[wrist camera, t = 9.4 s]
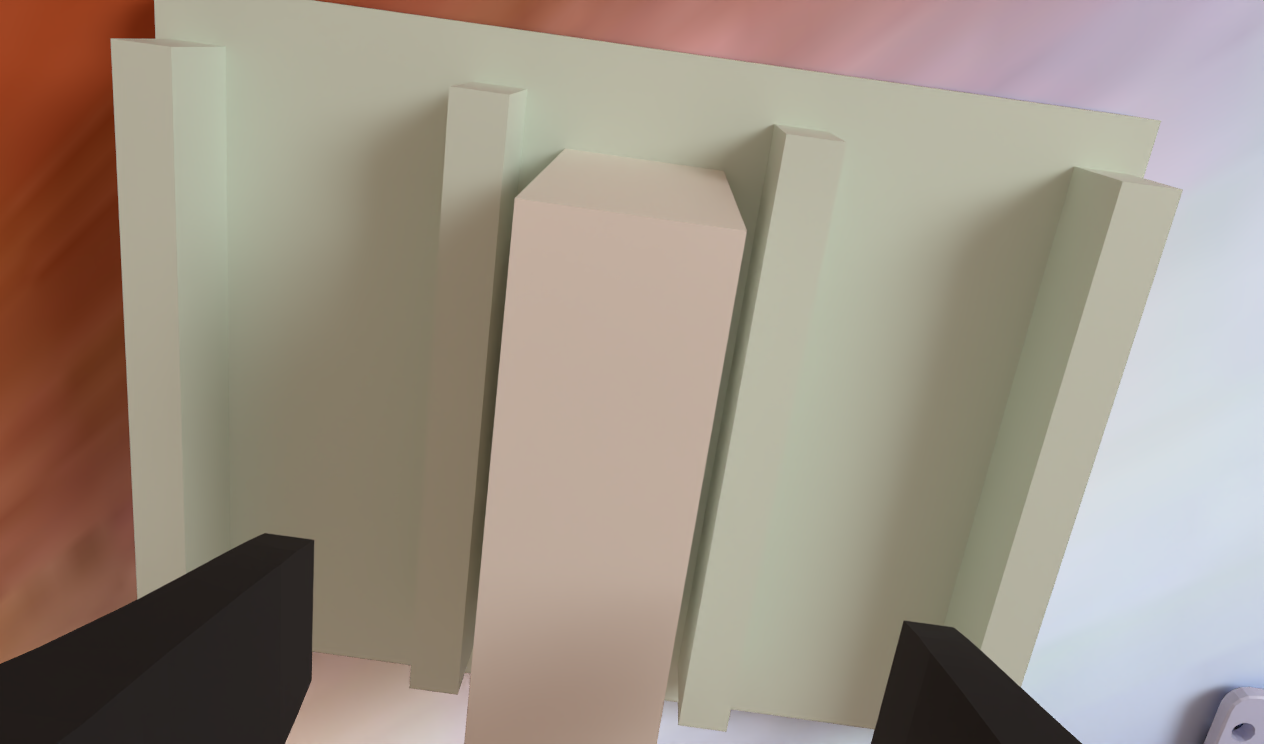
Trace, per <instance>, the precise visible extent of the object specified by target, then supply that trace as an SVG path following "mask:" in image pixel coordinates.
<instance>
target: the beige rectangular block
mask: <svg viewBox="0 0 1264 744" xmlns="http://www.w3.org/2000/svg"><path fill="white" fill-rule="evenodd" d="M746 234H747V230H746V227H745V225H744V222H743V219H742V217H741V214H740V212H739V209H738V207H737V204H736V202H735V199H734V196H733V194H732V191H731V189H730V186H729V184H728V181H727V178H726V176H725V173H724V171H721V170H714V169H707V168H700V167H693V166H686V165H679V164H672V163H665V162H658V161H651V160H643V159H636V158H629V157H622V156H615V155H608V154H601V153H594V152H587V151H580V150H573V149H566V148H565V149H564V150H563V151H562V152H561V153H560V154H559V155H558V156H557V157H556V158H555V159H554V160H553V161H552V162H551V163H550V164H549V165H548V166H547V167H546V168H545V169H544V170H543V171H542V172H541V173H540V174H539V175H538V176H537V177H536V178H535V179H534V180H533V181H532V182H531V183H530V184H529V185H528V186H527V187H526V188H525V189H524V190H523V191H522V192H521V193H519V194H518V195H517V196H516V197H515V201H514V212H513V223H512V234H511V244H510V255H509V266H508V277H507V288H506V298H505V309H504V320H503V331H502V342H501V352H500V363H499V374H498V385H497V396H496V406H495V417H494V428H493V439H492V450H491V461H490V471H489V482H488V493H487V504H486V515H485V525H484V536H483V547H482V558H481V569H480V579H479V590H478V601H477V612H476V623H475V633H474V644H473V655H472V666H471V677H470V688H469V698H468V709H467V720H466V731H465V742H464V744H657V739H658V733H659V727H660V722H661V716H662V710H663V705H664V699H665V693H666V688H667V682H668V676H669V671H670V665H671V659H672V654H673V648H674V642H675V637H676V631H677V625H678V620H679V614H680V608H681V603H682V597H683V591H684V586H685V580H686V574H687V569H688V563H689V557H690V551H691V546H692V540H693V534H694V529H695V523H696V517H697V512H698V506H699V500H700V495H701V489H702V483H703V478H704V472H705V466H706V461H707V455H708V449H709V444H710V438H711V432H712V427H713V421H714V415H715V410H716V404H717V398H718V393H719V387H720V381H721V376H722V370H723V364H724V359H725V353H726V347H727V342H728V336H729V330H730V325H731V319H732V313H733V307H734V302H735V296H736V290H737V285H738V279H739V273H740V268H741V262H742V256H743V251H744V245H745V239H746Z"/></svg>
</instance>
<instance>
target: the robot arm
mask: <svg viewBox="0 0 1264 744" xmlns="http://www.w3.org/2000/svg"><path fill="white" fill-rule="evenodd" d="M313 582H314V540H312V539H305V538H297V537H290V536H283V535H275V534H268V533H264V534H261V535H259V536H257V537H255V538H253V539H250V540H248V541H246V542H244V543H242V544H240V545H239V546H237V547H235V548H233V549H231V550H229V551H227V552H225V553H223V554H221V555H220V556H218V557H216V558H214V559H212V560H210V561H209V562H207V563H205V564H203V565H201V566H199V567H197V568H196V569H194V570H192V571H190V572H188V573H186V574H185V575H183V576H181V577H179V578H177V579H175V580H173V581H171V582H169V583H168V584H166V585H164V586H162V587H160V588H158V589H156V590H154V591H152V592H151V593H149V594H147V595H145V596H143V597H141V598H139V599H137V600H135V601H134V602H132V603H130V604H128V605H126V606H124V607H122V608H120V609H118V610H116V611H114V612H112V613H109V614H107V615H105V616H103V617H101V618H99V619H97V620H95V621H93V622H91V623H89V624H87V625H84V626H82V627H80V628H78V629H76V630H74V631H72V632H70V633H68V634H66V635H64V636H62V637H59V638H57V639H55V640H53V641H51V642H49V643H47V644H45V645H43V646H41V647H39V648H36V649H34V650H32V651H29V652H27V653H25V654H23V655H20V656H18V657H16V658H13V659H11V660H9V661H6V662H4V663H1V664H0V744H285V742H286V740H287V737H288V735H289V733H290V731H291V728H292V726H293V724H294V721H295V719H296V717H297V714H298V712H299V709H300V707H301V705H302V702H303V700H304V697H305V695H306V692H307V690H308V688H309V685H310V683H311V678H312V630H313ZM1241 723H1244V724H1243V725H1242V727H1240V728H1238V729H1236V730H1233V729H1234V727H1235V726H1237V725H1239V724H1241ZM871 744H1082V743H1081V742H1080V741H1079V740H1077V739H1076V738H1075V737H1074V736H1073V735H1072V734H1071V733H1070V732H1068V731H1067V730H1066V729H1065V728H1064V727H1063V726H1062V725H1061V724H1060V723H1059V722H1057V721H1056V720H1055V719H1054V718H1053V717H1052V716H1051V715H1050V714H1049V713H1048V712H1047V711H1045V710H1044V709H1043V708H1042V707H1041V706H1040V705H1039V704H1038V703H1037V702H1036V701H1035V700H1034V699H1033V698H1031V697H1030V696H1029V695H1028V694H1027V693H1026V692H1025V691H1024V690H1023V689H1022V688H1021V687H1020V686H1019V685H1018V684H1016V683H1015V682H1014V681H1013V680H1012V679H1011V678H1010V677H1009V676H1008V675H1007V674H1006V673H1005V672H1004V671H1003V670H1002V669H1000V668H999V667H998V666H997V665H996V664H995V663H994V662H993V661H992V660H991V659H990V658H989V657H988V656H986V655H985V654H984V653H983V652H982V651H981V650H980V649H979V648H978V647H977V646H975V645H974V644H973V643H972V642H971V641H970V640H969V639H967V638H966V637H965V636H964V635H963V634H961V633H960V632H959V631H958V630H957V629H955V628H954V627H948V626H941V625H934V624H926V623H919V622H912V621H903V625H902V629H901V632H900V636H899V640H898V644H897V647H896V651H895V655H894V659H893V663H892V666H891V670H890V674H889V678H888V682H887V685H886V689H885V693H884V697H883V700H882V704H881V708H880V712H879V716H878V719H877V723H876V727H875V731H874V734H873V738H872V742H871ZM1204 744H1264V689H1260V688H1253V687H1240V688H1237V689H1234V690H1232V691H1230V692H1229V693H1228V694H1226V695H1225V697H1224V698H1223V700H1222V701H1221V703H1220V705H1219V708H1218V710H1217V713H1216V715H1215V718H1214V720H1213V722H1212V725H1211V727H1210V730H1209V732H1208V734H1207V737H1206V739H1205V742H1204Z"/></svg>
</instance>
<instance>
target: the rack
mask: <svg viewBox="0 0 1264 744" xmlns="http://www.w3.org/2000/svg"><path fill="white" fill-rule="evenodd" d="M154 9H155V39H121V38H111V58H112V78H113V99H114V120H115V141H116V162H117V183H118V204H119V225H120V246H121V267H122V288H123V309H124V330H125V350H126V371H127V392H128V413H129V434H130V455H131V476H132V497H133V518H134V539H135V560H136V581H137V599H139V598H141V597H143V596H145V595H147V594H149V593H151V592H152V591H154V590H156V589H158V588H160V587H162V586H164V585H166V584H168V583H169V582H171V581H173V580H175V579H177V578H179V577H181V576H183V575H185V574H186V573H188V572H190V571H192V570H194V569H196V568H197V567H199V566H201V565H203V564H205V563H207V562H209V561H210V560H212V559H214V558H216V557H218V556H220V555H221V554H223V553H225V552H227V551H229V550H231V549H233V548H235V547H237V546H239V545H240V544H242V543H244V542H246V541H248V540H250V539H253V538H255V537H257V536H259V535H261V534H264V533H268V534H275V535H283V536H290V537H297V538H305V539H312V540H314V582H313V630H312V652H319V653H326V654H333V655H341V656H348V657H355V658H362V659H370V660H377V661H384V662H391V663H399V664H406V665H411V673H410V688H413V689H420V690H427V691H435V692H442V693H449V694H456V695H458V692H459V689H460V686H461V683H462V680H463V677H464V674H465V673H471V666H472V655H473V644H474V633H475V623H476V612H477V601H478V590H479V579H480V569H481V558H482V547H483V536H484V525H485V515H486V504H487V493H488V482H489V471H490V461H491V450H492V439H493V428H494V417H495V406H496V396H497V385H498V374H499V363H500V352H501V342H502V331H503V320H504V309H505V298H506V288H507V277H508V266H509V255H510V244H511V234H512V223H513V212H514V201H515V197H516V196H517V195H518V194H519V193H521V192H522V191H523V190H524V189H525V188H526V187H527V186H528V185H529V184H530V183H531V182H532V181H533V180H534V179H535V178H536V177H537V176H538V175H539V174H540V173H541V172H542V171H543V170H544V169H545V168H546V167H547V166H548V165H549V164H550V163H551V162H552V161H553V160H554V159H555V158H556V157H557V156H558V155H559V154H560V153H561V152H562V151H563V150H564V149H565V148H566V149H573V150H580V151H587V152H594V153H601V154H608V155H615V156H622V157H629V158H636V159H643V160H651V161H658V162H665V163H672V164H679V165H686V166H693V167H700V168H707V169H714V170H721V171H724V173H725V176H726V178H727V181H728V184H729V186H730V189H731V191H732V194H733V196H734V199H735V202H736V204H737V207H738V209H739V212H740V214H741V217H742V219H743V222H744V225H745V227H746V230H747V234H746V239H745V245H744V251H743V256H742V262H741V268H740V273H739V279H738V285H737V290H736V296H735V302H734V307H733V313H732V319H731V325H730V330H729V336H728V342H727V347H726V353H725V359H724V364H723V370H722V376H721V381H720V387H719V393H718V398H717V404H716V410H715V415H714V421H713V427H712V432H711V438H710V444H709V449H708V455H707V461H706V466H705V472H704V478H703V483H702V489H701V495H700V500H699V506H698V512H697V517H696V523H695V529H694V534H693V540H692V546H691V551H690V557H689V563H688V569H687V574H686V580H685V586H684V591H683V597H682V603H681V608H680V614H679V620H678V625H677V631H676V637H675V642H674V648H673V654H672V659H671V665H670V671H669V676H668V682H667V688H666V693H665V699H664V700H667V701H674V702H678V725H681V726H688V727H696V728H703V729H710V730H717V731H725V732H726V731H727V726H728V721H729V716H730V711H731V709H732V710H739V711H746V712H754V713H761V714H768V715H775V716H783V717H790V718H797V719H804V720H811V721H819V722H826V723H833V724H840V725H848V726H855V727H862V728H869V729H875V727H876V723H877V719H878V716H879V712H880V708H881V704H882V700H883V697H884V693H885V689H886V685H887V682H888V678H889V674H890V670H891V666H892V663H893V659H894V655H895V651H896V647H897V644H898V640H899V636H900V632H901V629H902V625H903V621H912V622H919V623H926V624H934V625H941V626H948V627H954V628H955V629H957V630H958V631H959V632H960V633H961V634H963V635H964V636H965V637H966V638H967V639H969V640H970V641H971V642H972V643H973V644H974V645H975V646H977V647H978V648H979V649H980V650H981V651H982V652H983V653H984V654H985V655H986V656H988V657H989V658H990V659H991V660H992V661H993V662H994V663H995V664H996V665H997V666H998V667H999V668H1000V669H1002V670H1003V671H1004V672H1005V673H1006V674H1007V675H1008V676H1009V677H1010V678H1011V679H1012V680H1013V681H1014V682H1015V683H1016V684H1018V685H1019V686H1020V687H1021V685H1022V682H1023V679H1024V676H1025V673H1026V670H1027V667H1028V663H1029V660H1030V657H1031V654H1032V651H1033V648H1034V645H1035V642H1036V639H1037V636H1038V633H1039V630H1040V627H1041V624H1042V620H1043V617H1044V614H1045V611H1046V608H1047V605H1048V602H1049V599H1050V596H1051V593H1052V590H1053V587H1054V584H1055V581H1056V577H1057V574H1058V571H1059V568H1060V565H1061V562H1062V559H1063V556H1064V553H1065V550H1066V547H1067V544H1068V541H1069V538H1070V534H1071V531H1072V528H1073V525H1074V522H1075V519H1076V516H1077V513H1078V510H1079V507H1080V504H1081V501H1082V498H1083V495H1084V491H1085V488H1086V485H1087V482H1088V479H1089V476H1090V473H1091V470H1092V467H1093V464H1094V461H1095V458H1096V455H1097V452H1098V448H1099V445H1100V442H1101V439H1102V436H1103V433H1104V430H1105V427H1106V424H1107V421H1108V418H1109V415H1110V412H1111V409H1112V406H1113V402H1114V399H1115V396H1116V393H1117V390H1118V387H1119V384H1120V381H1121V378H1122V375H1123V372H1124V369H1125V366H1126V363H1127V359H1128V356H1129V353H1130V350H1131V347H1132V344H1133V341H1134V338H1135V335H1136V332H1137V329H1138V326H1139V323H1140V320H1141V316H1142V313H1143V310H1144V307H1145V304H1146V301H1147V298H1148V295H1149V292H1150V289H1151V286H1152V283H1153V280H1154V277H1155V273H1156V270H1157V267H1158V264H1159V261H1160V258H1161V255H1162V252H1163V249H1164V246H1165V243H1166V240H1167V237H1168V234H1169V230H1170V227H1171V224H1172V221H1173V218H1174V215H1175V212H1176V209H1177V206H1178V203H1179V200H1180V197H1181V194H1182V191H1183V190H1182V189H1178V188H1175V187H1171V186H1168V185H1165V184H1161V183H1158V182H1154V181H1151V180H1147V179H1144V178H1143V177H1144V174H1145V171H1146V168H1147V164H1148V161H1149V158H1150V155H1151V151H1152V148H1153V145H1154V142H1155V139H1156V135H1157V132H1158V129H1159V126H1160V122H1161V121H1159V120H1153V119H1147V118H1141V117H1134V116H1127V115H1120V114H1113V113H1106V112H1099V111H1092V110H1085V109H1078V108H1071V107H1063V106H1056V105H1049V104H1042V103H1035V102H1028V101H1021V100H1014V99H1007V98H1000V97H993V96H986V95H979V94H972V93H965V92H957V91H950V90H943V89H936V88H929V87H922V86H915V85H908V84H901V83H894V82H887V81H880V80H873V79H866V78H859V77H851V76H844V75H837V74H830V73H823V72H816V71H809V70H802V69H795V68H788V67H781V66H774V65H767V64H760V63H753V62H745V61H738V60H731V59H724V58H717V57H710V56H703V55H696V54H689V53H682V52H675V51H668V50H661V49H654V48H647V47H639V46H632V45H625V44H618V43H611V42H604V41H597V40H590V39H583V38H576V37H569V36H562V35H555V34H548V33H541V32H533V31H526V30H519V29H512V28H505V27H498V26H491V25H484V24H477V23H470V22H463V21H456V20H449V19H442V18H435V17H427V16H420V15H413V14H406V13H399V12H392V11H385V10H378V9H371V8H364V7H357V6H350V5H343V4H336V3H329V2H321V1H314V0H154Z"/></svg>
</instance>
